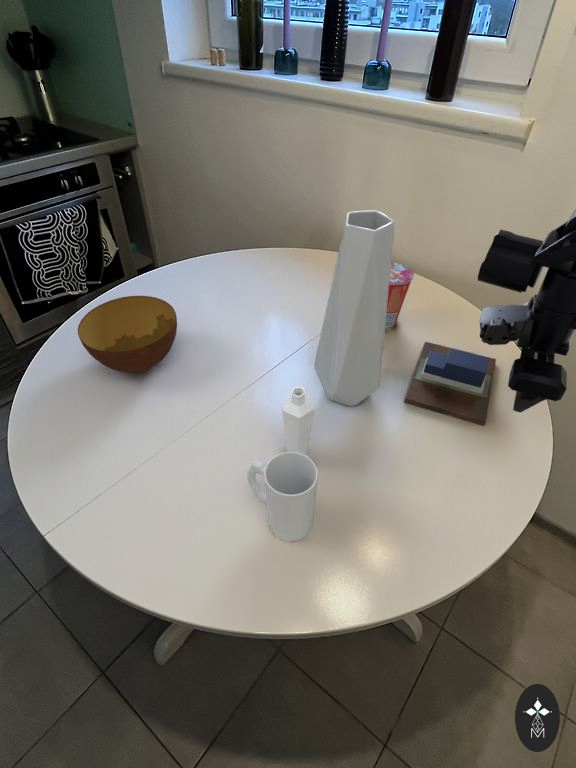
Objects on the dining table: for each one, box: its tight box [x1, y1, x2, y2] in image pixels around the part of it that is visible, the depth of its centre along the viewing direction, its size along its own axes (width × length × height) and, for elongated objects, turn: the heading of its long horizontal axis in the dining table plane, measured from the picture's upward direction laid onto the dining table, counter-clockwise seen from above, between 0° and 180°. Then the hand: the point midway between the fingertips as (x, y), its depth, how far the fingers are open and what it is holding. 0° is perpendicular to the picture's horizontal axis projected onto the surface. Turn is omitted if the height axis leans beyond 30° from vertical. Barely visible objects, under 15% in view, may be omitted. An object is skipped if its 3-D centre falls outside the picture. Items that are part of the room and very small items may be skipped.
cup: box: [385, 262, 415, 329], centre depth 96 cm, size 9×8×12 cm
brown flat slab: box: [403, 341, 497, 427], centre depth 86 cm, size 14×18×1 cm
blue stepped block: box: [421, 347, 489, 394], centre depth 84 cm, size 11×5×5 cm, turn 66°
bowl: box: [77, 295, 178, 374], centre depth 87 cm, size 18×18×10 cm
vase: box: [313, 209, 395, 407], centre depth 73 cm, size 12×12×33 cm
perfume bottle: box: [281, 386, 315, 457], centre depth 68 cm, size 5×4×15 cm
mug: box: [246, 451, 319, 543], centre depth 61 cm, size 10×7×12 cm, turn 62°
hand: (519, 390), depth 68 cm, fingers open, 9 cm apart
